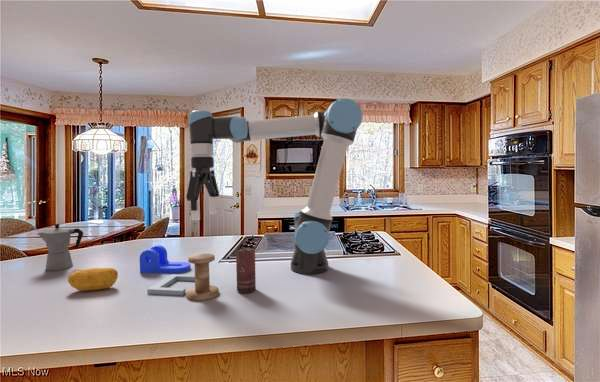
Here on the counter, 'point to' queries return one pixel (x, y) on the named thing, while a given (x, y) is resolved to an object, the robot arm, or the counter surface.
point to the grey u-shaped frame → (161, 286)
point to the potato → (93, 278)
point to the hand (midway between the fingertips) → (204, 217)
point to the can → (245, 270)
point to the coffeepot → (59, 247)
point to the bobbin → (202, 278)
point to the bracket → (160, 262)
